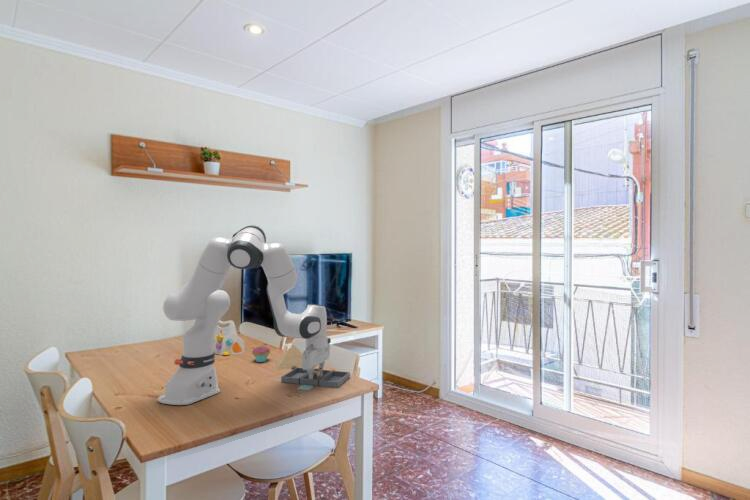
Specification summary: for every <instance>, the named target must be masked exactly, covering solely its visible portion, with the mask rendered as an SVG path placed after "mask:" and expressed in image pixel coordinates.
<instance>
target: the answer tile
mask: <svg viewBox="0 0 750 500" xmlns="http://www.w3.org/2000/svg"><path fill="white" fill-rule="evenodd" d="M314 387H315V386H311V385H300V386H299V387H297V388H296V389H297V390H302V391H310V390H311V389H313V388H314Z"/></svg>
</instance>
